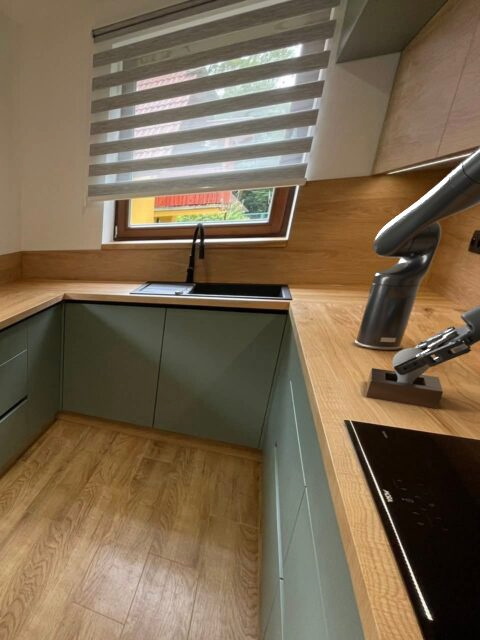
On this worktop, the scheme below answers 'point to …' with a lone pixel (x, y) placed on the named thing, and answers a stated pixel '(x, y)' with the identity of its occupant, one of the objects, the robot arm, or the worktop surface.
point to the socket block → (404, 388)
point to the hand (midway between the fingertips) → (397, 367)
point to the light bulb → (404, 356)
